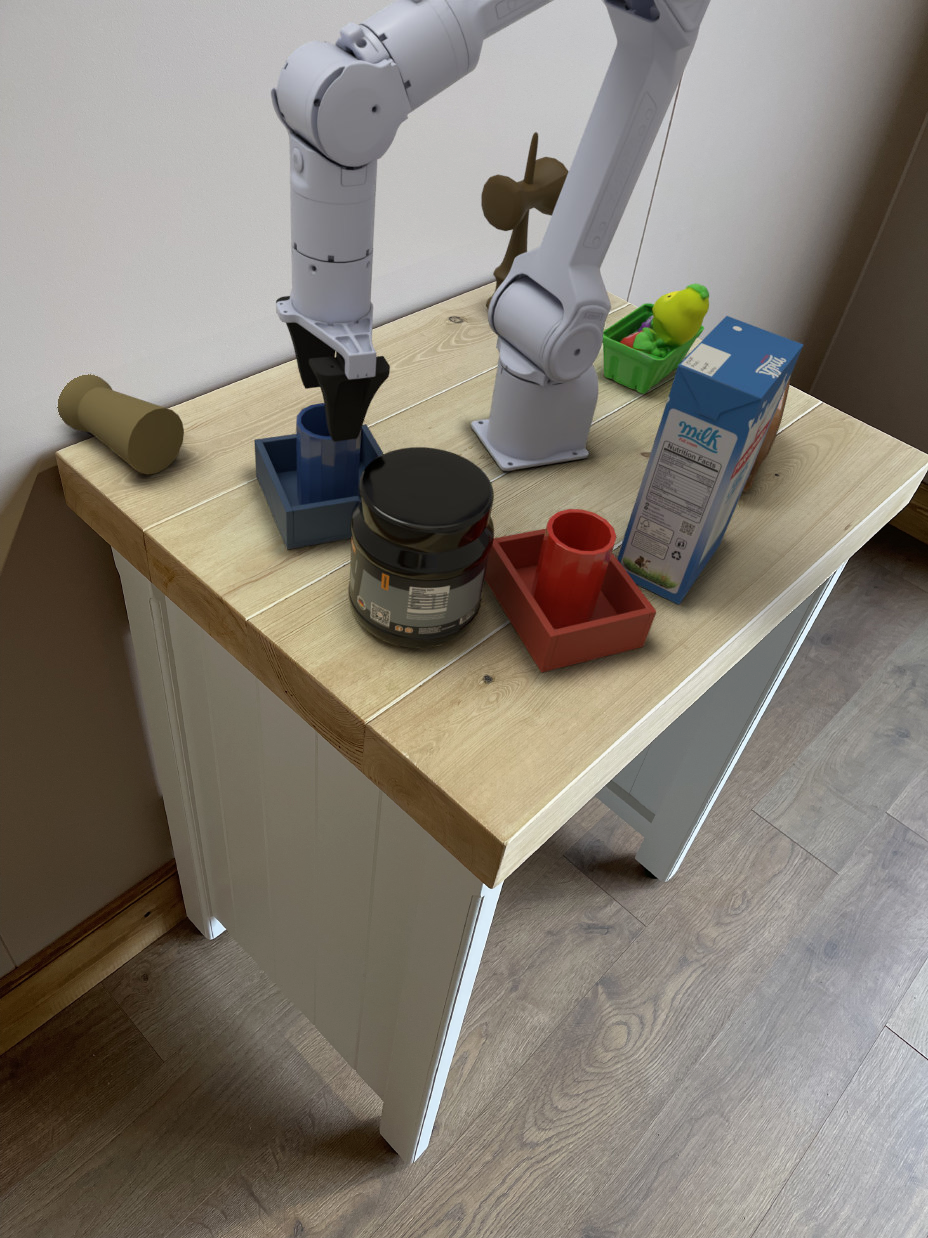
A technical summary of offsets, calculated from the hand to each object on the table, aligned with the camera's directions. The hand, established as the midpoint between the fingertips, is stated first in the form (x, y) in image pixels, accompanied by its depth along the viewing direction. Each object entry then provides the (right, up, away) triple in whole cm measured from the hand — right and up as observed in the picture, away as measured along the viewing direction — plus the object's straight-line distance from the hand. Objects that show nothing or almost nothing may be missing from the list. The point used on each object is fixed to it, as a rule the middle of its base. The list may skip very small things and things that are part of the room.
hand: (329, 410), depth 74 cm
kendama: (+16, +20, +35) cm, 44 cm away
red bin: (+19, -16, +1) cm, 25 cm away
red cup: (+19, -16, 0) cm, 24 cm away
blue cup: (-1, -6, +6) cm, 9 cm away
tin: (+39, -1, +19) cm, 43 cm away
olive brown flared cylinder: (-15, -2, +5) cm, 16 cm away
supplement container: (+7, -16, -1) cm, 17 cm away
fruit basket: (+31, +11, +29) cm, 44 cm away
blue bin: (-1, -7, +7) cm, 9 cm away
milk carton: (+29, -12, +7) cm, 32 cm away
